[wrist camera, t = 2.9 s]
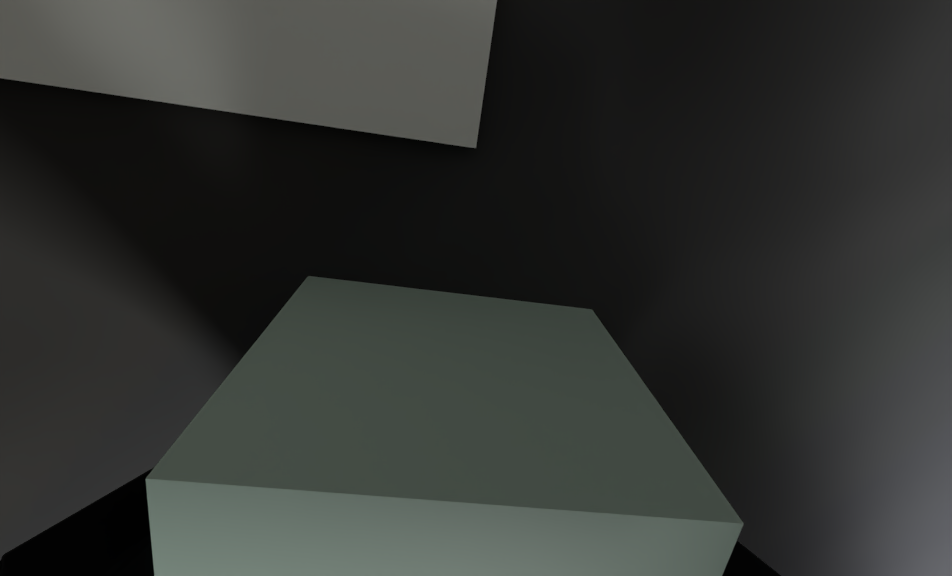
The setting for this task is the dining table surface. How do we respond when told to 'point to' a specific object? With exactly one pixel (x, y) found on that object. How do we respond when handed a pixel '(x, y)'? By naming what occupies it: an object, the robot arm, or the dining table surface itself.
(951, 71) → the dining table surface
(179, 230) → the dining table surface
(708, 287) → the dining table surface
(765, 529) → the dining table surface
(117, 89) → the white flat rectangular panel
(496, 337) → the sage block
